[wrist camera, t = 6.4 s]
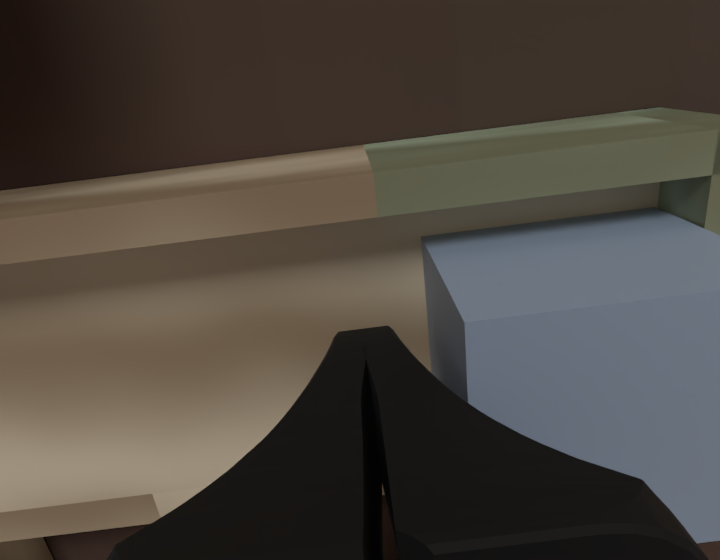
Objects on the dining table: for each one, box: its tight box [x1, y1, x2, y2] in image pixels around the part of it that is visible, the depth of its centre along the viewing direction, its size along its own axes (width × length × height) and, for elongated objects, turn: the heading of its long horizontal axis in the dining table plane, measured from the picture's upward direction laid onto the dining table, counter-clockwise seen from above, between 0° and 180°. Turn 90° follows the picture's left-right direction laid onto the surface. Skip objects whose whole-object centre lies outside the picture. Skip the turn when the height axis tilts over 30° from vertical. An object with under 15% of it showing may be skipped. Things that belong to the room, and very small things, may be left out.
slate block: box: [421, 207, 720, 543], centre depth 10 cm, size 5×5×4 cm
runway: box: [0, 107, 720, 560], centre depth 14 cm, size 16×24×4 cm, turn 97°
